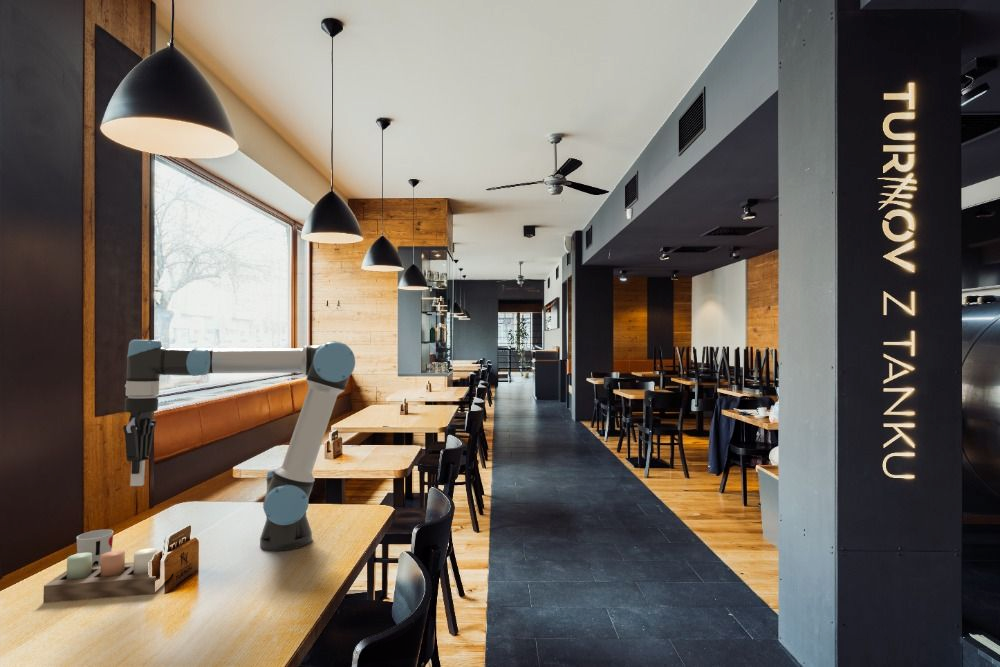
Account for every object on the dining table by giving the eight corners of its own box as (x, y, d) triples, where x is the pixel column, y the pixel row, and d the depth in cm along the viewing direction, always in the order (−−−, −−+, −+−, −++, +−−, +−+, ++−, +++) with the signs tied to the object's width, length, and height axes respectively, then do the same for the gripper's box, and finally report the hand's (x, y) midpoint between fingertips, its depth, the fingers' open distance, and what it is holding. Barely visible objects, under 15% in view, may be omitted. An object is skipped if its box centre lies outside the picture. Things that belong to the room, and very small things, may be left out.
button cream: (160, 566, 143) (160, 547, 143) (151, 574, 138) (152, 554, 138) (138, 568, 142) (139, 549, 142) (129, 576, 137) (130, 556, 137)
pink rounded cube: (128, 569, 141) (128, 549, 142) (118, 577, 136) (119, 556, 137) (106, 570, 140) (107, 551, 141) (96, 578, 136) (96, 558, 136)
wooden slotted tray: (173, 574, 146) (173, 559, 147) (154, 594, 135) (154, 577, 135) (72, 582, 142) (72, 566, 142) (43, 602, 130) (43, 585, 130)
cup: (92, 578, 144) (93, 540, 144) (67, 576, 146) (68, 538, 146) (120, 566, 152) (120, 530, 152) (95, 564, 154) (96, 528, 154)
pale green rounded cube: (95, 571, 140) (96, 551, 140) (84, 579, 135) (85, 559, 135) (73, 573, 139) (74, 553, 139) (62, 581, 134) (62, 560, 134)
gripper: (139, 394, 153) (134, 479, 152) (113, 398, 140) (108, 491, 139) (168, 395, 154) (163, 479, 153) (145, 398, 141) (139, 491, 140)
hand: (137, 485), depth 146 cm, fingers closed
